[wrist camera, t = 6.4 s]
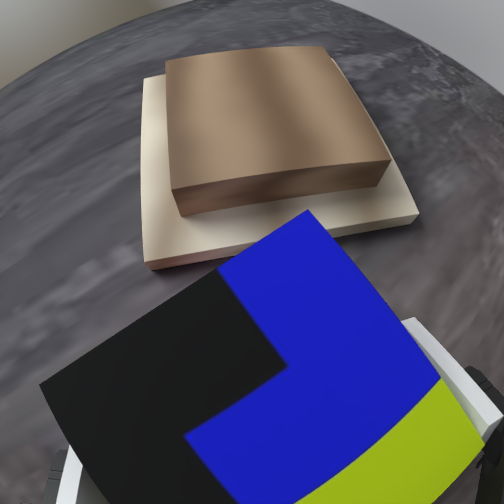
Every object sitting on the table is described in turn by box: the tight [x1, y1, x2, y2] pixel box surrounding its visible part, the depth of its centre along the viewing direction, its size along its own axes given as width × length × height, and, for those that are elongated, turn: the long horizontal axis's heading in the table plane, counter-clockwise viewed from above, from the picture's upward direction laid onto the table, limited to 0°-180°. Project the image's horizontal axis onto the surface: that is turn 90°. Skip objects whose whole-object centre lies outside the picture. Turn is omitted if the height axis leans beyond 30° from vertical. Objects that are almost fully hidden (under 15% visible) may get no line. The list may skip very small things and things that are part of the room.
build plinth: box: [141, 46, 419, 270], centre depth 22 cm, size 18×18×4 cm
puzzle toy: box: [39, 209, 485, 504], centre depth 12 cm, size 10×10×10 cm
